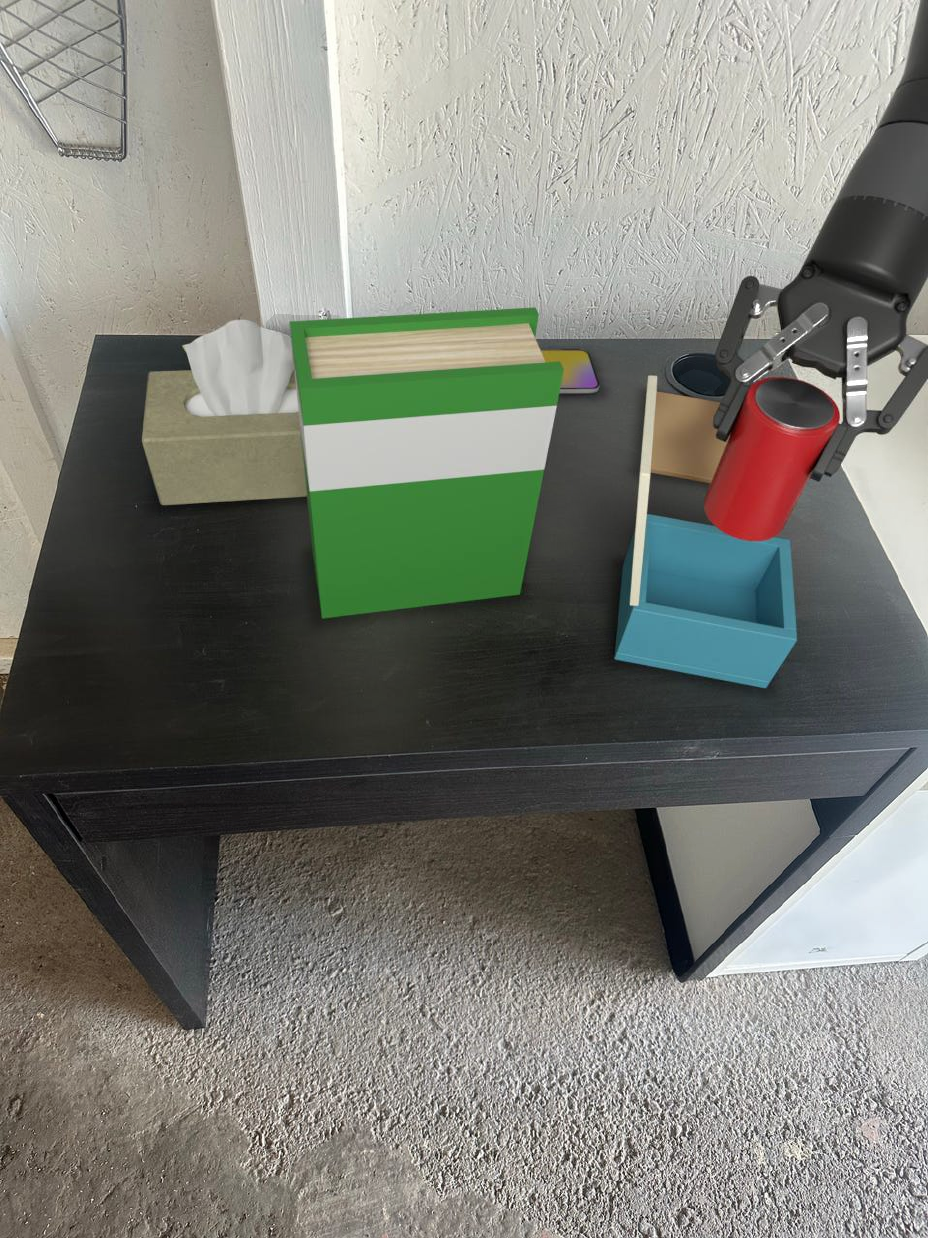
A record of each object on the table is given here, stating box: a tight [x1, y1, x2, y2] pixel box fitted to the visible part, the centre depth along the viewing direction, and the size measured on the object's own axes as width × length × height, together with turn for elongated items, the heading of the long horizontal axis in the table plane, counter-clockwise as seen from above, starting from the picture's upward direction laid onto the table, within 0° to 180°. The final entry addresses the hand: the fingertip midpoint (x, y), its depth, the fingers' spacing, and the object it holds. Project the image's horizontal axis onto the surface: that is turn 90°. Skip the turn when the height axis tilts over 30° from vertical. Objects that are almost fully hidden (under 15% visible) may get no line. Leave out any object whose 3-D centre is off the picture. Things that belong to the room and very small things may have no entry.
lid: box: [630, 375, 658, 606], centre depth 65 cm, size 14×11×1 cm
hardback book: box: [289, 307, 564, 620], centre depth 68 cm, size 18×7×24 cm, turn 102°
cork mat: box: [651, 391, 730, 484], centre depth 91 cm, size 13×13×1 cm
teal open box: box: [613, 513, 798, 689], centre depth 73 cm, size 13×11×7 cm
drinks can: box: [703, 376, 841, 541], centre depth 61 cm, size 6×6×10 cm
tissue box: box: [141, 319, 307, 506], centre depth 78 cm, size 19×10×16 cm, turn 99°
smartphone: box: [540, 348, 601, 394], centre depth 96 cm, size 7×1×15 cm
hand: (767, 457), depth 59 cm, fingers closed on drinks can, 6 cm apart
